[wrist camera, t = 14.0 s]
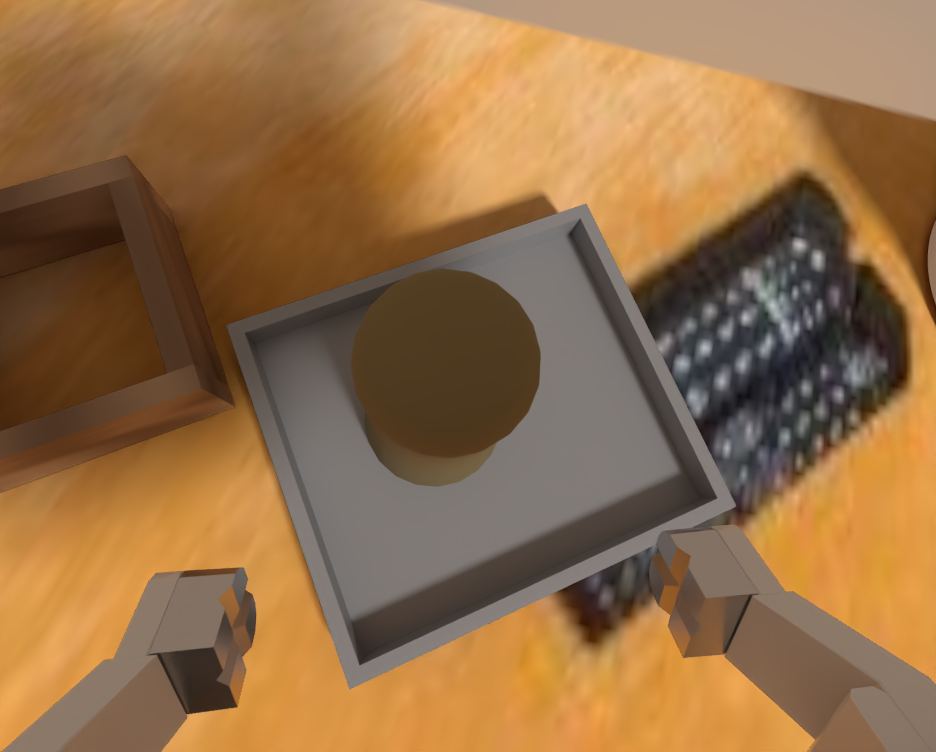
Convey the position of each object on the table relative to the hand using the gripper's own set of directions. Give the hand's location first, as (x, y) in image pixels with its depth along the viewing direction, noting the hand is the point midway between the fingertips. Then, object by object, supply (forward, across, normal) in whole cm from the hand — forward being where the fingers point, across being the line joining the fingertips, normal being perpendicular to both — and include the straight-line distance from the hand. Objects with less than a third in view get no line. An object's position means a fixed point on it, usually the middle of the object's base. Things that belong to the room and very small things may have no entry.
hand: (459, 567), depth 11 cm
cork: (+12, 0, +6) cm, 14 cm away
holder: (+16, +15, +3) cm, 22 cm away
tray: (+13, -2, +6) cm, 15 cm away
